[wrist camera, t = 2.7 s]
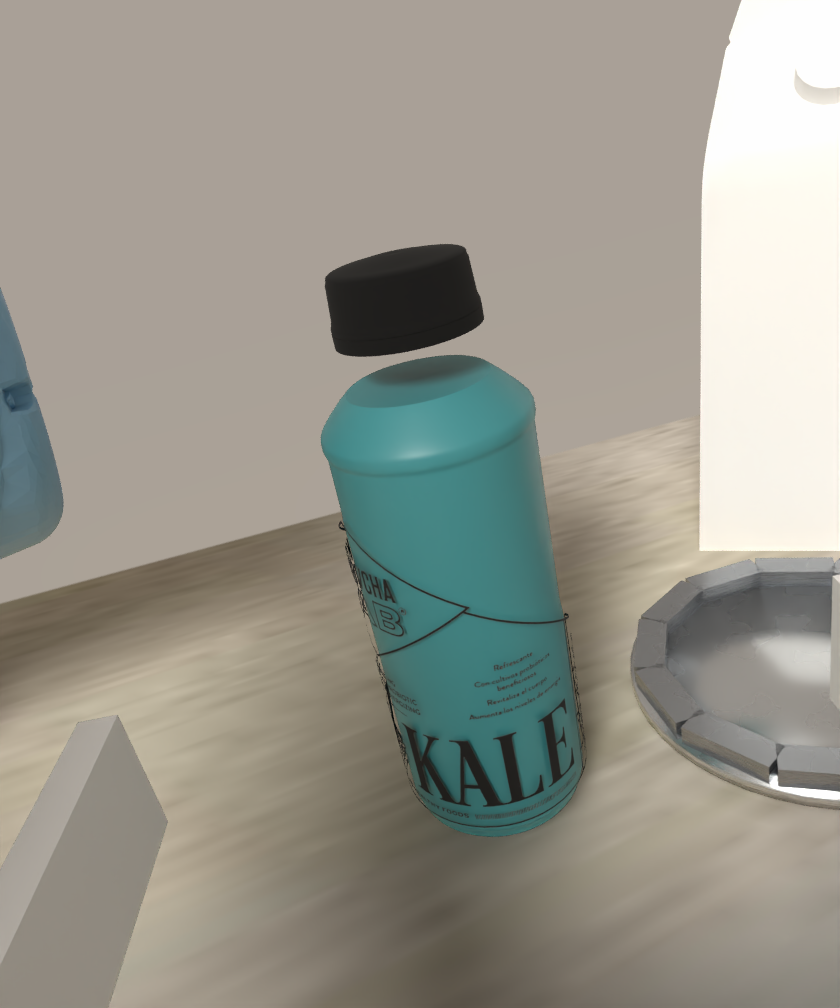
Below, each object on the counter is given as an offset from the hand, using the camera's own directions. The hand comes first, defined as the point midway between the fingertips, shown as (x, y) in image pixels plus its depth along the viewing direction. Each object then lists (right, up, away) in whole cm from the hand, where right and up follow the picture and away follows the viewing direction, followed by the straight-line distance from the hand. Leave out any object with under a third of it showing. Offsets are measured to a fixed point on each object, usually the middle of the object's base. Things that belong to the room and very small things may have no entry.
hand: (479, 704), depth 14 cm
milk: (+21, +4, +30) cm, 36 cm away
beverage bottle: (+2, -7, +15) cm, 17 cm away
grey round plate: (+15, -3, +17) cm, 23 cm away
